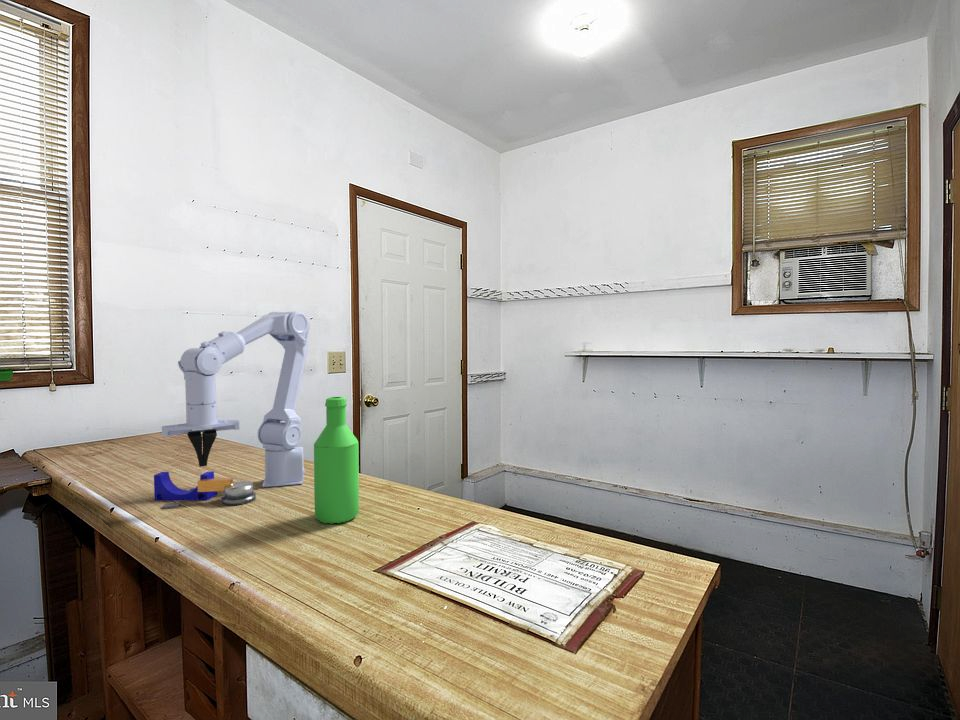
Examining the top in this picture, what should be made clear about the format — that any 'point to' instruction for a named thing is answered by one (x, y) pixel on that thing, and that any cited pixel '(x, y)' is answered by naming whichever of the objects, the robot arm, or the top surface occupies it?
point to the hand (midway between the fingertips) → (202, 465)
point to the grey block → (170, 505)
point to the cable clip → (169, 491)
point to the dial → (226, 487)
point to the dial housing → (238, 500)
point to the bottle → (336, 467)
